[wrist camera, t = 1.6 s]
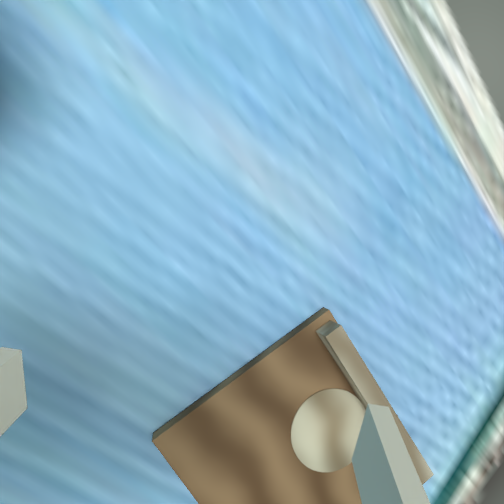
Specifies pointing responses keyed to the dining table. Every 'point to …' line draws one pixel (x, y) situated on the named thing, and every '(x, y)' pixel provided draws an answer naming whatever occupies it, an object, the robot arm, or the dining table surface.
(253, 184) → the dining table surface
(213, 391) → the walnut board
